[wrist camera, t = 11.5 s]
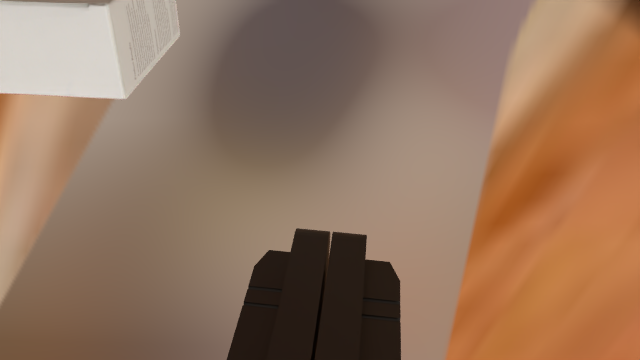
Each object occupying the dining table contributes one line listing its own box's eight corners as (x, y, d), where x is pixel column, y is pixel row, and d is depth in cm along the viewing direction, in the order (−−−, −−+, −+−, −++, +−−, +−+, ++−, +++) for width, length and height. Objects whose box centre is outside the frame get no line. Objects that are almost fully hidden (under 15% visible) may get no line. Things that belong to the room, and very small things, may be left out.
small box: (76, 31, 41) (-8, 95, 33) (56, -50, 38) (-42, -3, 30) (183, 37, 41) (126, 103, 32) (173, -45, 38) (106, 4, 29)
